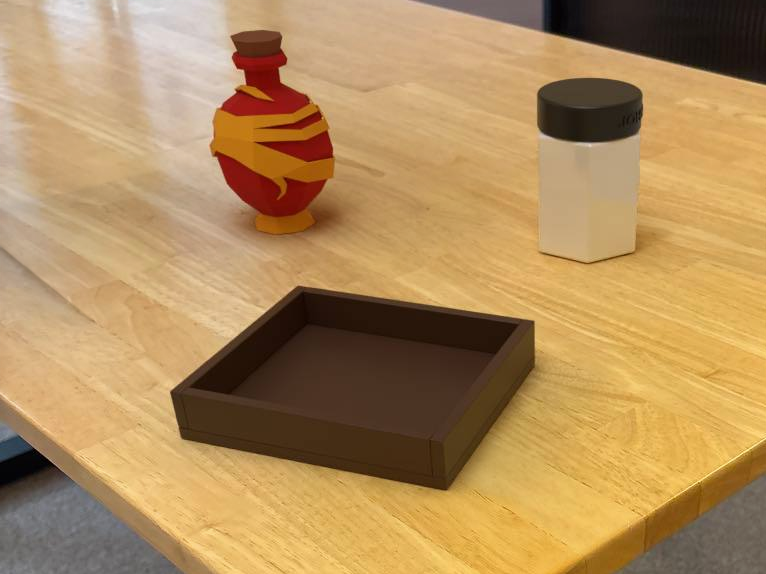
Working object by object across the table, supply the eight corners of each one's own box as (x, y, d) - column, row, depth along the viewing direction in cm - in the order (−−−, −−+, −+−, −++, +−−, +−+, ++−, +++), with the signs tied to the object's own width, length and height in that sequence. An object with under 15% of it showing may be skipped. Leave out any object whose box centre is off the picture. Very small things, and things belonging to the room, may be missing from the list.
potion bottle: (201, 221, 94) (164, 35, 85) (304, 192, 99) (279, 15, 90) (263, 257, 88) (230, 61, 79) (369, 224, 93) (349, 37, 84)
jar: (639, 264, 86) (647, 108, 79) (536, 264, 86) (536, 108, 79) (632, 221, 93) (640, 75, 86) (538, 221, 93) (537, 75, 86)
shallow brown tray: (180, 438, 66) (169, 391, 64) (304, 327, 78) (297, 284, 76) (446, 490, 62) (442, 441, 60) (535, 364, 73) (534, 320, 71)
